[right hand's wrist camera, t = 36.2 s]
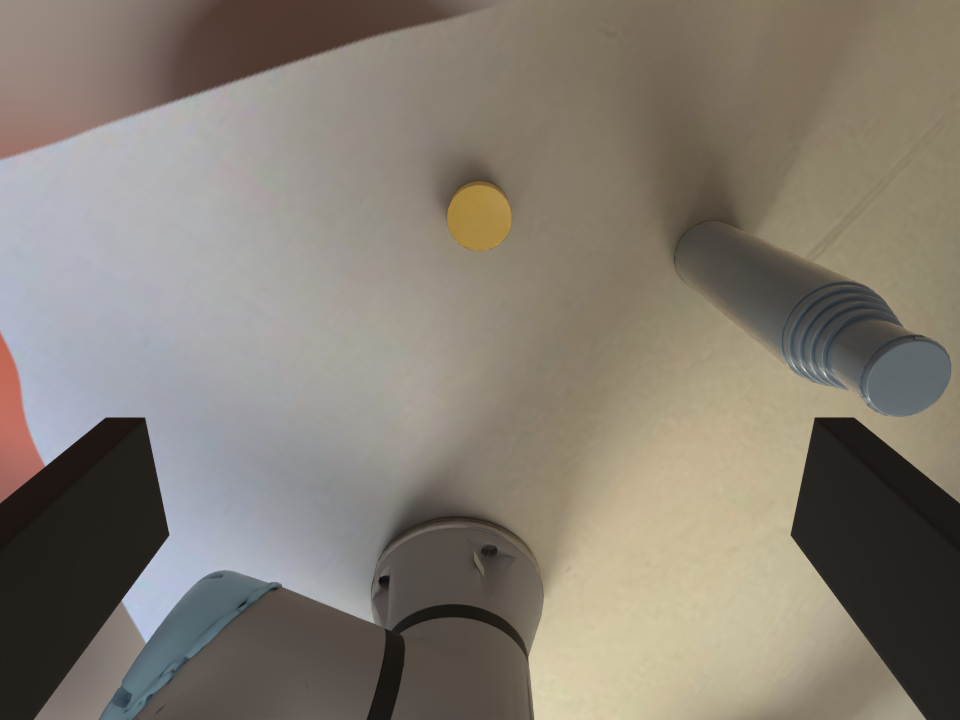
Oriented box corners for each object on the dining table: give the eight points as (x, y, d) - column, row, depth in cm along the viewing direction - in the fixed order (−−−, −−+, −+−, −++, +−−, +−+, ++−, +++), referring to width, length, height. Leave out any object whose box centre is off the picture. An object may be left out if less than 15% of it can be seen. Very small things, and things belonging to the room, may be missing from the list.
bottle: (734, 291, 49) (949, 441, 26) (668, 285, 48) (827, 431, 26) (750, 224, 47) (995, 324, 25) (682, 217, 47) (865, 312, 24)
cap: (519, 194, 46) (521, 199, 44) (496, 252, 47) (497, 260, 45) (461, 171, 45) (460, 174, 43) (439, 230, 47) (437, 237, 44)
